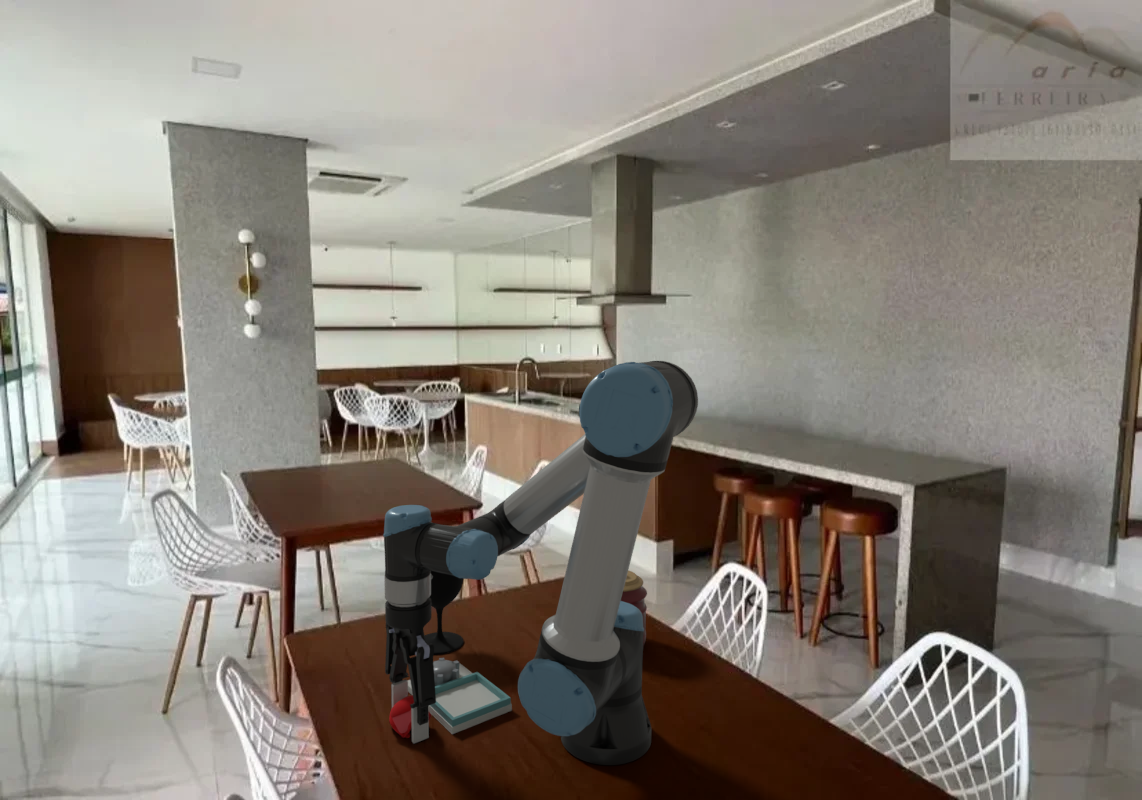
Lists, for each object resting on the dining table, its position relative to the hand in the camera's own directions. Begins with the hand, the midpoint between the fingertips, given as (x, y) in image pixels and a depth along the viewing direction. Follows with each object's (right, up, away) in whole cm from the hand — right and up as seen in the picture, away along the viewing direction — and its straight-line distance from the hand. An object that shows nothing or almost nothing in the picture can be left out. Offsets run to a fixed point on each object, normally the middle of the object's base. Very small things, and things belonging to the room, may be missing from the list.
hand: (409, 728), depth 115 cm
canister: (+37, +2, +33) cm, 50 cm away
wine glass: (-1, +3, +32) cm, 32 cm away
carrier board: (+6, +1, +10) cm, 12 cm away
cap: (0, 0, 0) cm, 0 cm away
